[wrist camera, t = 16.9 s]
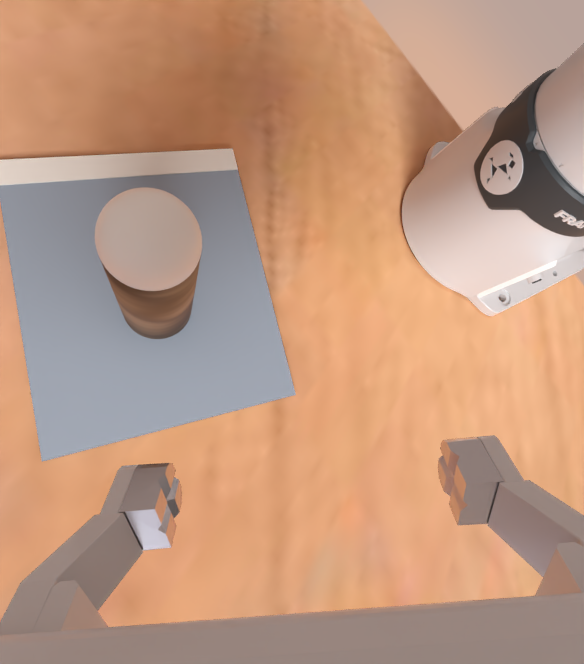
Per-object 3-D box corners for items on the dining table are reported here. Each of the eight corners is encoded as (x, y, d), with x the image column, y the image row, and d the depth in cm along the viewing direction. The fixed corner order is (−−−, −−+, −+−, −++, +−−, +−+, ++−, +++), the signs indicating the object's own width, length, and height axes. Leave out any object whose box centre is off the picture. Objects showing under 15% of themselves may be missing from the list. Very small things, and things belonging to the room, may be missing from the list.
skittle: (184, 271, 32) (193, 162, 19) (197, 332, 31) (216, 261, 18) (116, 281, 30) (75, 168, 17) (128, 345, 30) (95, 277, 17)
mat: (231, 153, 36) (232, 148, 36) (293, 395, 33) (296, 394, 32) (-3, 165, 30) (-7, 160, 30) (44, 460, 27) (41, 461, 27)
